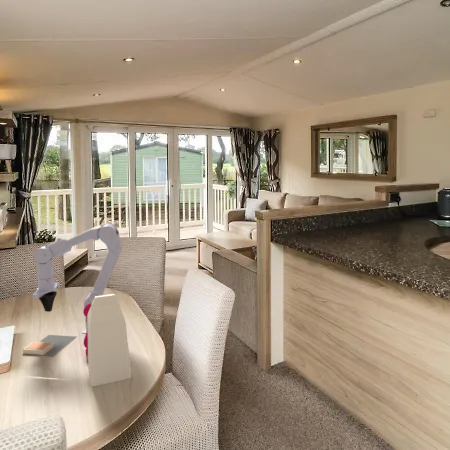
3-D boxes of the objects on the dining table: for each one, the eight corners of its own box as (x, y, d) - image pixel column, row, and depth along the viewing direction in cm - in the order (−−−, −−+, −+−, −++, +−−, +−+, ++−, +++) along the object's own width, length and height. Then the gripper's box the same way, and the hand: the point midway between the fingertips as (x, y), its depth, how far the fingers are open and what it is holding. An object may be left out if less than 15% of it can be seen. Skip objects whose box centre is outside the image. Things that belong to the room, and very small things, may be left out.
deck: (53, 342, 141) (43, 350, 135) (53, 347, 141) (43, 354, 136) (33, 341, 142) (22, 348, 136) (33, 345, 143) (23, 353, 137)
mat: (77, 337, 150) (77, 336, 150) (53, 357, 134) (53, 356, 134) (48, 335, 152) (48, 334, 152) (22, 355, 136) (21, 354, 136)
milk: (91, 386, 116) (85, 304, 113) (88, 368, 127) (83, 292, 123) (131, 377, 121) (127, 298, 117) (125, 361, 132) (121, 287, 128)
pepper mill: (83, 350, 139) (80, 297, 136) (104, 346, 142) (101, 294, 139) (85, 359, 133) (81, 304, 130) (106, 355, 136) (103, 301, 132)
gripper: (47, 272, 157) (50, 303, 159) (24, 282, 143) (27, 317, 145) (63, 272, 156) (65, 304, 158) (41, 283, 142) (44, 318, 144)
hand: (48, 310), depth 151 cm, fingers closed
